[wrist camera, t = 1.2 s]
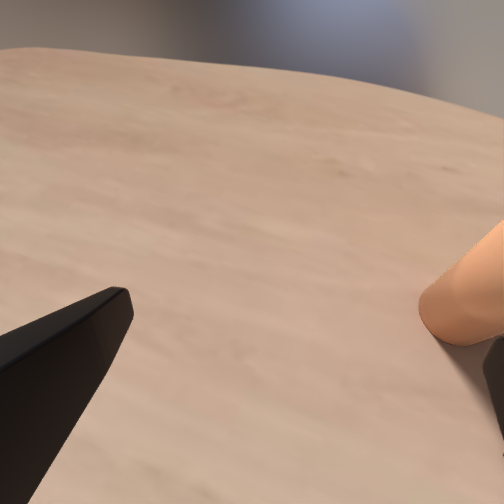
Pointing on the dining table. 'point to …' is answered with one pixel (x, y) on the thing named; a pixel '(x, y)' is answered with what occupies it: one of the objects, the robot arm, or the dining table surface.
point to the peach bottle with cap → (469, 295)
